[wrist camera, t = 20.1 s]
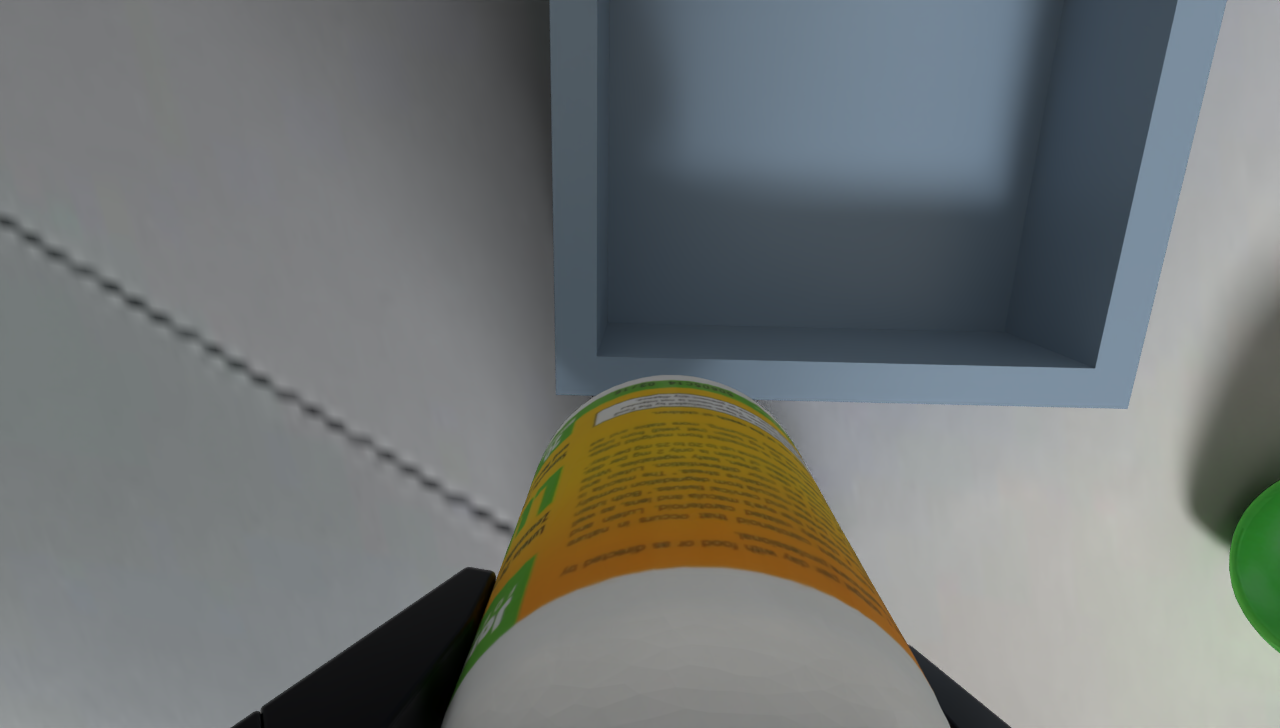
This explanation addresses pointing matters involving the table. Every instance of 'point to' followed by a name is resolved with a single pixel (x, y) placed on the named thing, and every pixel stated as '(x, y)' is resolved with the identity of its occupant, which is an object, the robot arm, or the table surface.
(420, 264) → the table surface
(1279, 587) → the speaker
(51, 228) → the table surface
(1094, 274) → the tote
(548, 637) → the supplement bottle
